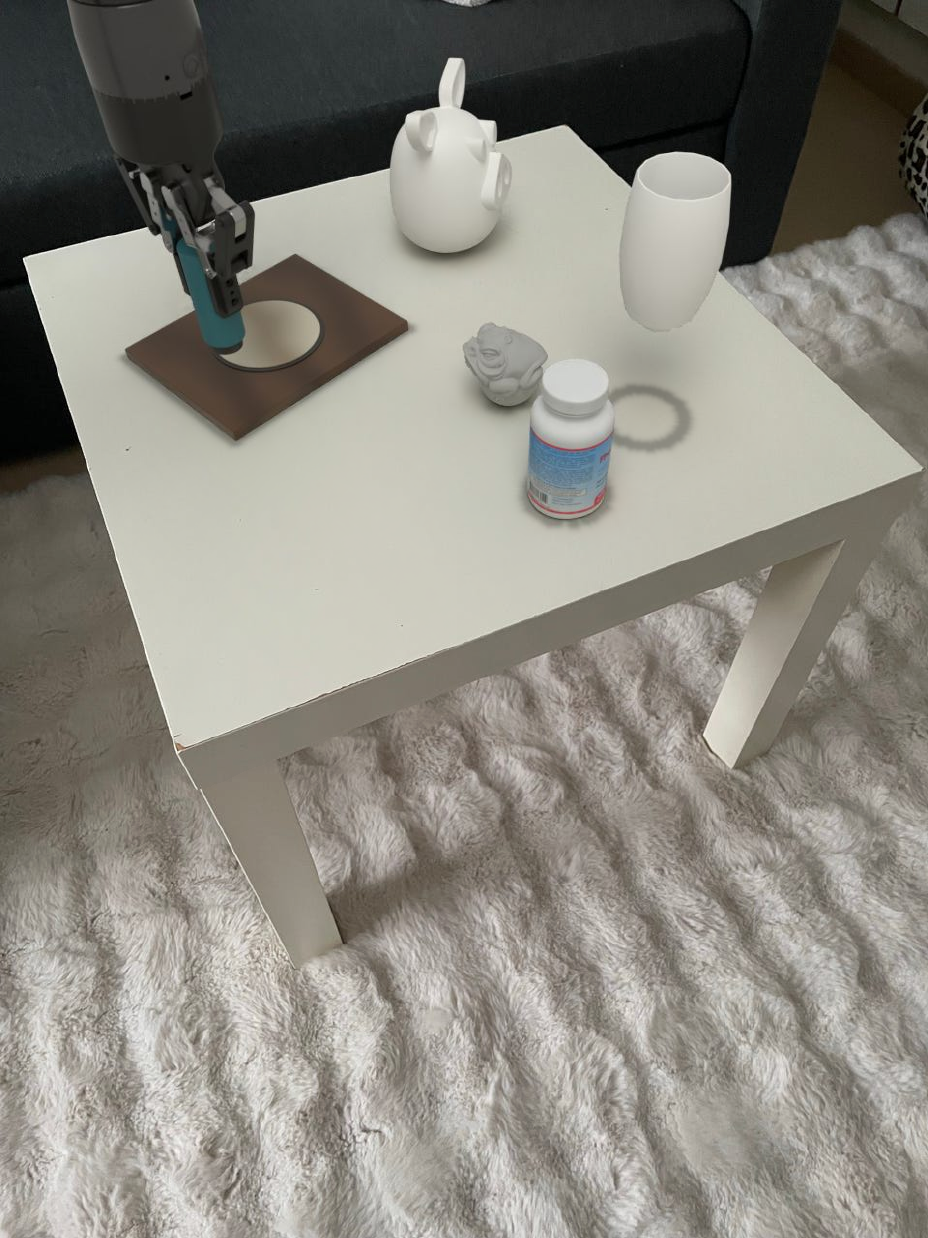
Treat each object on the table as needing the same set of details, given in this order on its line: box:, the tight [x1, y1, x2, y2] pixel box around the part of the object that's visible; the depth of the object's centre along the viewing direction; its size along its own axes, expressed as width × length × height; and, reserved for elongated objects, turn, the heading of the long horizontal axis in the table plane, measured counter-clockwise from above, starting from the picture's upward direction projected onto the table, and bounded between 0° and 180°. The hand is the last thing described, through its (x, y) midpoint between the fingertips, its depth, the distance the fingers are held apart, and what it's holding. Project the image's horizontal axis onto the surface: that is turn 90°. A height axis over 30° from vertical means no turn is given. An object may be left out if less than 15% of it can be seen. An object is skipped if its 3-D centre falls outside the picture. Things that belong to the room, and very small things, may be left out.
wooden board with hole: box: [124, 253, 409, 441], centre depth 84 cm, size 20×16×1 cm
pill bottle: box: [526, 358, 616, 520], centre depth 68 cm, size 6×6×11 cm
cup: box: [618, 151, 732, 333], centre depth 69 cm, size 7×7×21 cm
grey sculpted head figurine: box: [462, 321, 549, 407], centre depth 76 cm, size 6×7×7 cm
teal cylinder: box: [176, 237, 246, 355], centre depth 71 cm, size 3×3×9 cm
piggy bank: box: [389, 57, 513, 254], centre depth 87 cm, size 12×12×15 cm
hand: (214, 301), depth 72 cm, fingers closed on teal cylinder, 3 cm apart
